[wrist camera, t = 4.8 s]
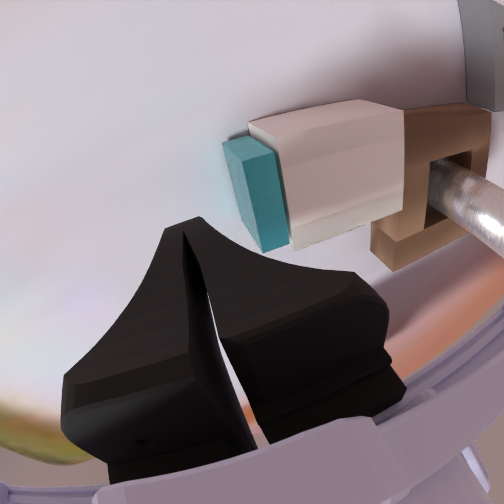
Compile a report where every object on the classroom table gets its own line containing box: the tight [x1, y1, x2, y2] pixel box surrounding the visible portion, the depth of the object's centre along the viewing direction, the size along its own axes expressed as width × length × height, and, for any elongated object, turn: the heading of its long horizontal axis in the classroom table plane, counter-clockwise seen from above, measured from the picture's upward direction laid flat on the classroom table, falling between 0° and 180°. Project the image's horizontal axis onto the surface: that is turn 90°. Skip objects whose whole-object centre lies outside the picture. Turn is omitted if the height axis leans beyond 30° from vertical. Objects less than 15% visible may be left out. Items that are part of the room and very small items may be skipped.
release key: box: [222, 135, 290, 253], centre depth 13 cm, size 4×7×3 cm, turn 102°
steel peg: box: [427, 158, 504, 259], centre depth 14 cm, size 3×3×8 cm
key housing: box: [247, 99, 404, 251], centre depth 13 cm, size 5×6×3 cm
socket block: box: [370, 103, 491, 272], centre depth 17 cm, size 9×9×2 cm
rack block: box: [458, 0, 504, 112], centre depth 13 cm, size 8×8×2 cm
